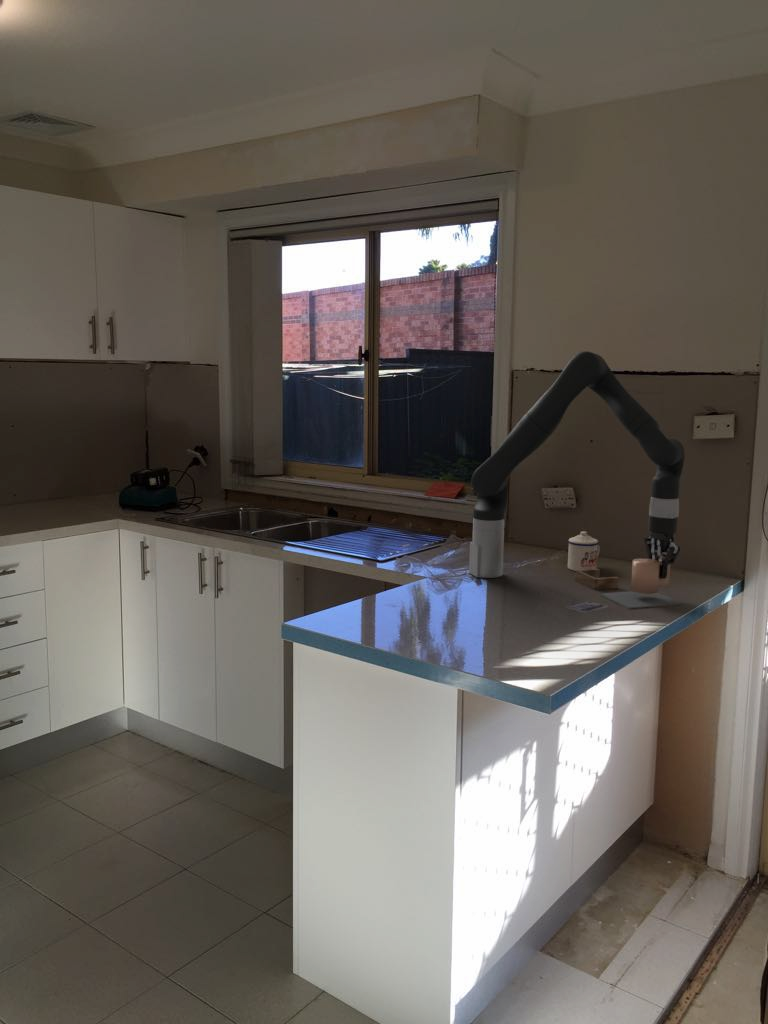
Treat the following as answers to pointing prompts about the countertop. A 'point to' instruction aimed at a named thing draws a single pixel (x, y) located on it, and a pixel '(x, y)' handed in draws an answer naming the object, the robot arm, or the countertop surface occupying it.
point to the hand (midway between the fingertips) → (659, 577)
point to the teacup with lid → (582, 552)
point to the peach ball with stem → (647, 576)
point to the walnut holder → (595, 579)
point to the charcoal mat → (639, 599)
